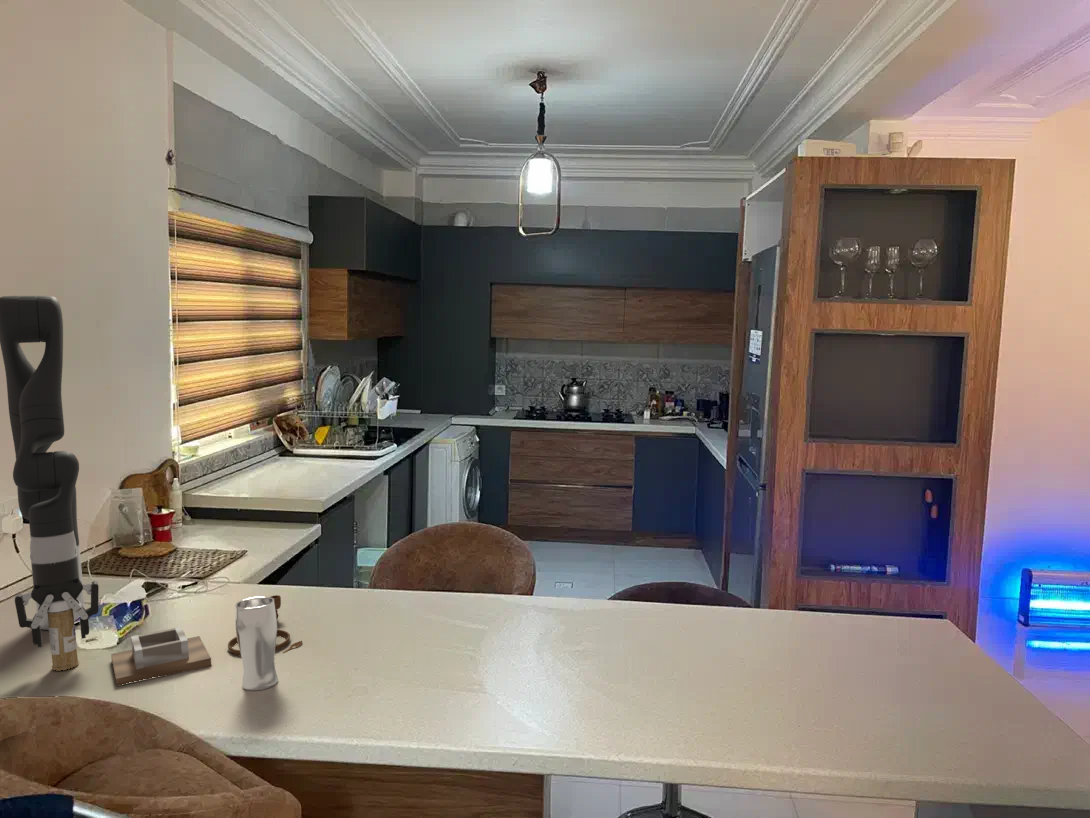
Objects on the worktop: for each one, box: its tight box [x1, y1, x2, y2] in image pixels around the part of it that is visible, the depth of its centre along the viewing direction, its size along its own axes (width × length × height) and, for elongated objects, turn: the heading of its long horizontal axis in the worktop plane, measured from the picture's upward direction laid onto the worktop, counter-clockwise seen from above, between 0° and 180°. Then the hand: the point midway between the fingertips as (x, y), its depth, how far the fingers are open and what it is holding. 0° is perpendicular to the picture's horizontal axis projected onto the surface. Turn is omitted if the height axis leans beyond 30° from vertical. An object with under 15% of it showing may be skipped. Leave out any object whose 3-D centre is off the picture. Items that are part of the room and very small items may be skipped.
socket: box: [110, 626, 212, 687], centre depth 157 cm, size 14×16×5 cm
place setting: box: [227, 594, 303, 657], centre depth 168 cm, size 18×20×6 cm
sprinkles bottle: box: [47, 600, 80, 672], centre depth 156 cm, size 5×5×13 cm
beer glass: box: [234, 596, 279, 691], centre depth 145 cm, size 7×7×15 cm
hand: (61, 641), depth 156 cm, fingers open, 6 cm apart
